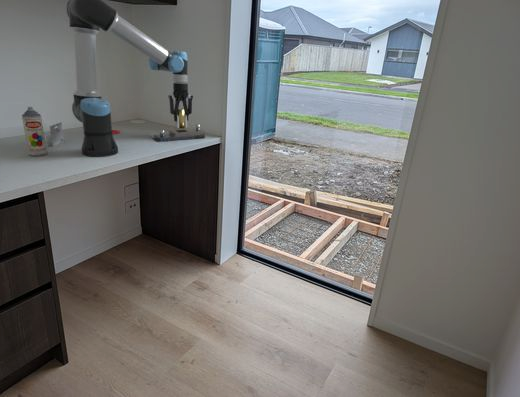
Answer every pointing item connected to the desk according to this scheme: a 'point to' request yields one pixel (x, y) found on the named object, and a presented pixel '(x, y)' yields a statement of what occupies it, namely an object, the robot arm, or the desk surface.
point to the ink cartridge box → (55, 135)
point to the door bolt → (181, 134)
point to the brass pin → (181, 118)
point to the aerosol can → (34, 133)
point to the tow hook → (115, 131)
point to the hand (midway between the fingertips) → (181, 127)
